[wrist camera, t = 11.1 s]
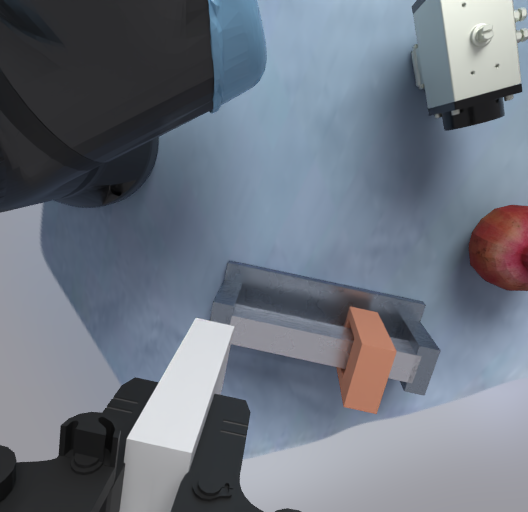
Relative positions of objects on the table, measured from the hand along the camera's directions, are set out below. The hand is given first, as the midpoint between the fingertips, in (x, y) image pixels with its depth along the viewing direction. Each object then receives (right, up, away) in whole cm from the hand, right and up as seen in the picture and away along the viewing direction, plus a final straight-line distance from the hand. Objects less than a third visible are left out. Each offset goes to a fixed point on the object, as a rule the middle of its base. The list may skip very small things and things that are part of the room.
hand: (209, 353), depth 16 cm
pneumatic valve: (+18, +22, +23) cm, 37 cm away
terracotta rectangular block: (+12, -5, +28) cm, 31 cm away
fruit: (+26, +6, +27) cm, 38 cm away
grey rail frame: (+8, -3, +31) cm, 32 cm away
